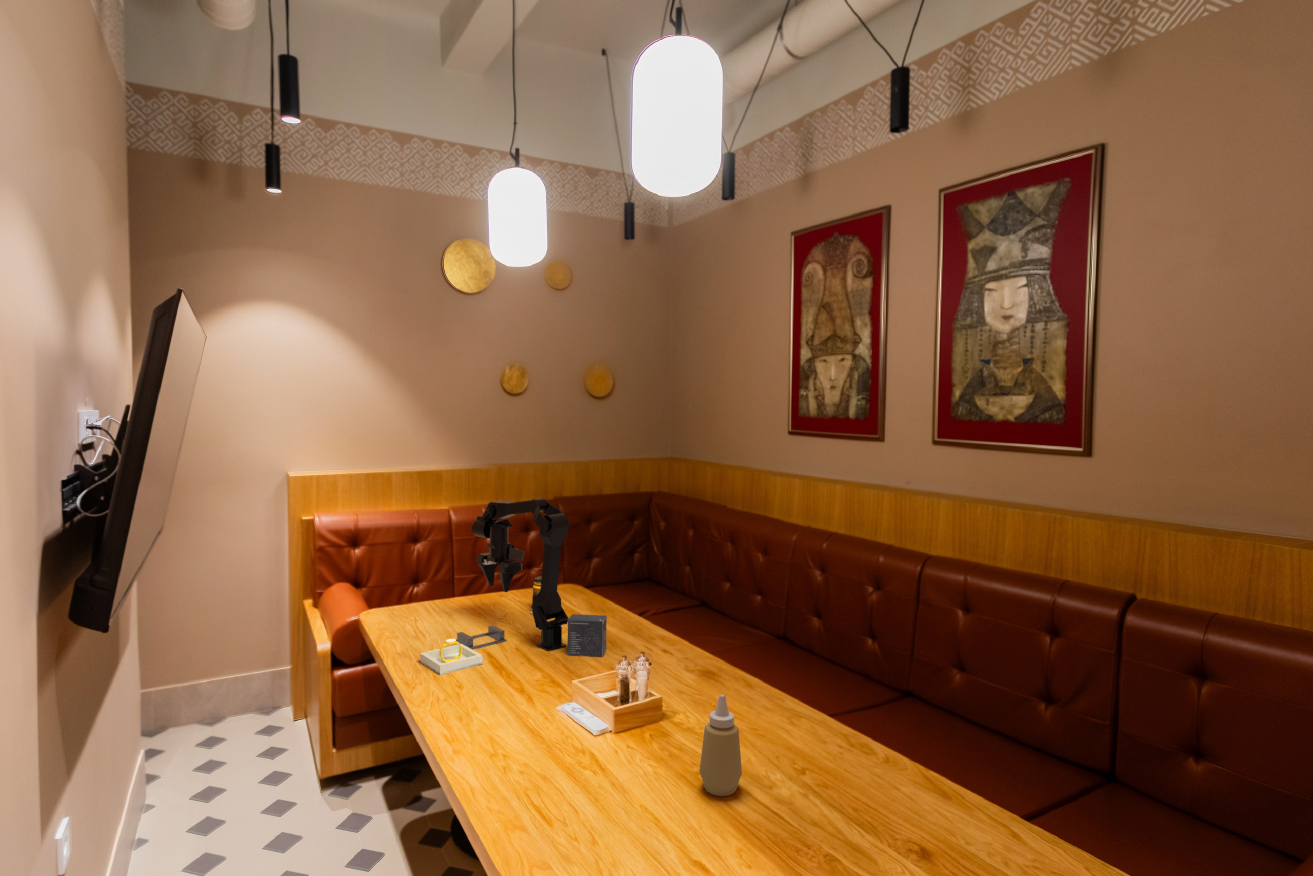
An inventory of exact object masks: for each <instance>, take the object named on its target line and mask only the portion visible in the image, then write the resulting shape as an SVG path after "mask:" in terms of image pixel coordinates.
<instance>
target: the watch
mask: <svg viewBox="0 0 1313 876" xmlns="http://www.w3.org/2000/svg"><path fill="white" fill-rule="evenodd" d="M456 639H457V638H449V639H448V638H447V639H445V642H444V643H443V644H441V647H440V648H439V649H440V653H439V654H440V657H441V659H442V660H443V661H444V662H450V661H454V660H458V659H459V658H460V657H461V655H462V646H461V645H460V644H459V642H457V641H456ZM454 644H455V645H459V647H460V652H459V654H458V656H457V657H456V658H455V659H449V660H445V659H444V658H443V657H442V650H443V649H444V648H445V647H447V646H448V645H454Z"/></svg>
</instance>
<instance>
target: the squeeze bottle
mask: <svg viewBox="0 0 1313 876" xmlns="http://www.w3.org/2000/svg"><path fill="white" fill-rule="evenodd" d="M726 697H727V696H726V695H725V694H719V695H718V699H717V704H716V708H715V710H712V711H711V712H710V713H709V722H708V723H707V724H706V725H705V726H704V731H703V739H702V746H701V747H702V748H701V754H700V763H699V773H700V777H701V780H702V783H703V787H704V790H705V792H707V793H709V794H710V795H713V796H716V797H728V796H731V795H733V794H735V792H736V791H737V788H738V786H739V783H740V780H741V777H742V774H743V771H742V770H743V769H742V755H741V745H740V744H741V742H740V731H739V730H740V729H739V727H738V726H737V725H736V724H735V715H734V713H733V712H731V711H730V710H729V708H728V707H729V706H728V702H727V698H726Z"/></svg>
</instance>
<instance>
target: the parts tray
mask: <svg viewBox="0 0 1313 876" xmlns="http://www.w3.org/2000/svg"><path fill="white" fill-rule="evenodd" d="M460 645H461V646H462V655H461V657H460V658H459V659H458V660H454V661H450V662H444V661H443V660H442V659H441V657H440V654H439V653H440V648H437V649H432V650H428V651H424V652H420V654H419V662H420V663H421V664H422V665H424V666H426V667H427V668H428V669H430V670H432V671H433V672H434V673H436V674H437V675H439V676H442V675H446V674H449V673H454V672H457V671H461V670H465V669H468V668H469V669H470V668H473V667H477V666H481V665H483V654H481V653H479V652H477V651H476V650H475V649H470V648H468V647H467V646H465V645H463V644H460ZM459 652H460V647H459V645H458V644H455V645H454V644H453V645H450V646H445V647H444V649H443V650H442V657H443V658H444V659H445V660H449V659H455V658H456V657H457V656H458V654H459Z"/></svg>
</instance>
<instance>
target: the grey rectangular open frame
mask: <svg viewBox="0 0 1313 876" xmlns="http://www.w3.org/2000/svg"><path fill="white" fill-rule="evenodd" d="M487 628H488V629H487V630H488V631H487V632H484V633H479V634H475V635H469V634H467V633H465V632H463V631H460V632H457V633H456V638H455V639H456V641H457V642H459V644H463V645H465V646H467V647H468V648H470V649H472V650H475V649H480V648H484V647H489V646H493V645H497V644H501V643H505V642H507V639H506V638H505V630H504V629H503V628H500V627H497V626H495V625H493V624H492V625H488V626H487ZM486 636H488V637H490V638H492V639H494V641H491V642H485V643H481V644H477V645H474V639H477V638H481V637H486Z"/></svg>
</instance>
